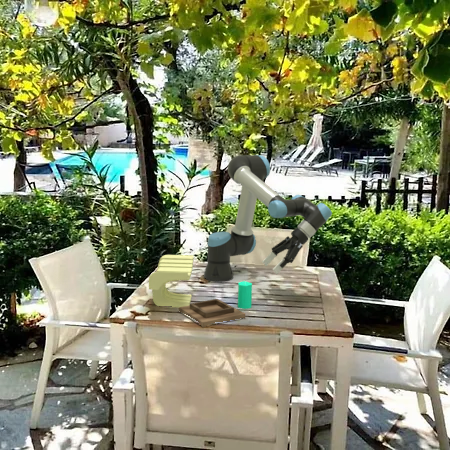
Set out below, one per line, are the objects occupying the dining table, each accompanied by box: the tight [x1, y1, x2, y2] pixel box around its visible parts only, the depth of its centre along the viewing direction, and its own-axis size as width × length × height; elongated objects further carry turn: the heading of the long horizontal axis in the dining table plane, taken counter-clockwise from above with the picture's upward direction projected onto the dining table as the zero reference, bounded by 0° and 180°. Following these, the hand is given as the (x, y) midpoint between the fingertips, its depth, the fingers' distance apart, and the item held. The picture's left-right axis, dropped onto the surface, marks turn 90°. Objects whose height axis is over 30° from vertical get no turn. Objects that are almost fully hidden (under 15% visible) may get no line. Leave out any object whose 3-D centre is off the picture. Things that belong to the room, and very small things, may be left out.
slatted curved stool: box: [148, 254, 195, 308], centre depth 225 cm, size 30×16×18 cm, turn 179°
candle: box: [237, 279, 253, 310], centre depth 222 cm, size 6×6×12 cm
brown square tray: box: [178, 298, 246, 328], centre depth 211 cm, size 20×20×4 cm
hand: (269, 267), depth 222 cm, fingers open, 13 cm apart
